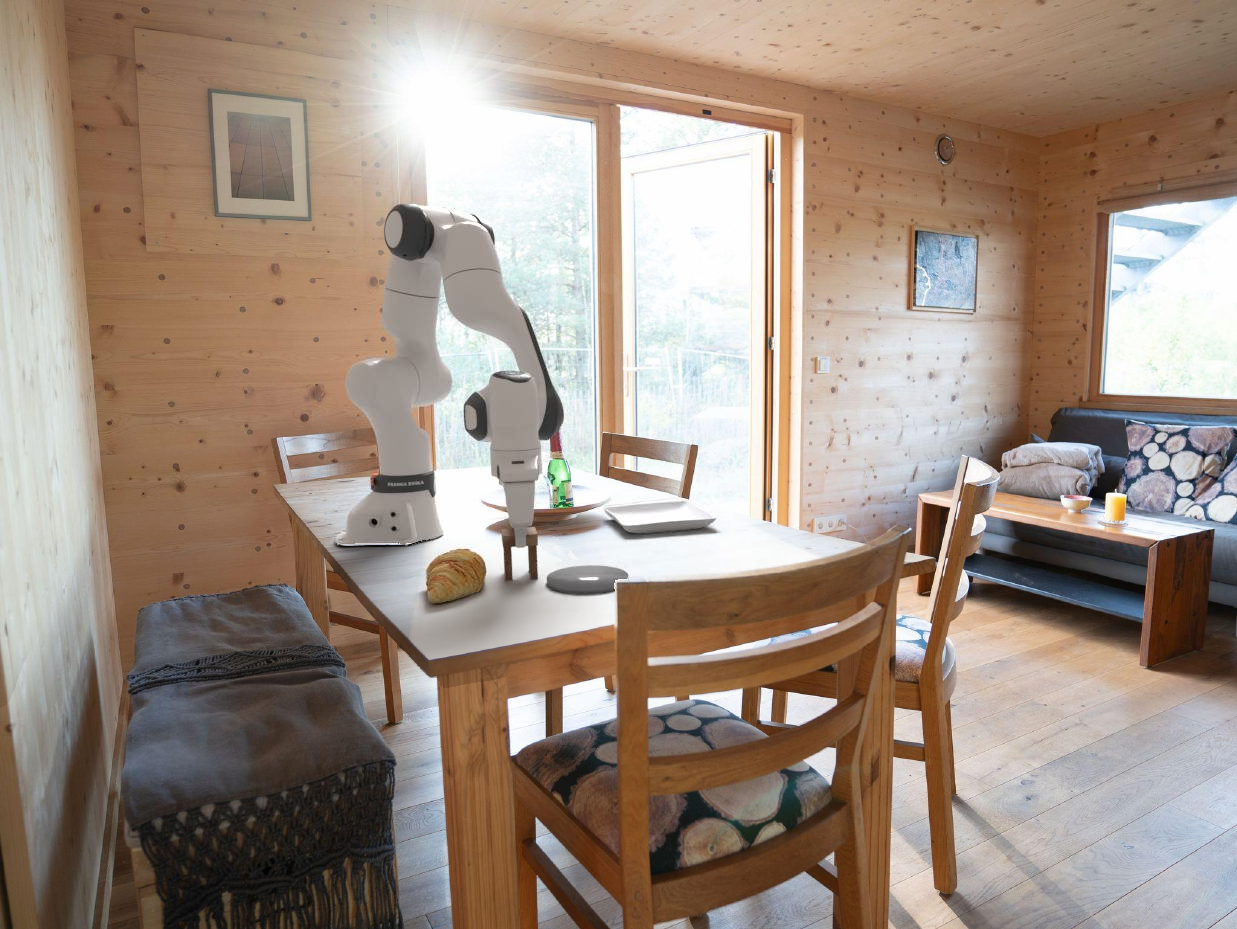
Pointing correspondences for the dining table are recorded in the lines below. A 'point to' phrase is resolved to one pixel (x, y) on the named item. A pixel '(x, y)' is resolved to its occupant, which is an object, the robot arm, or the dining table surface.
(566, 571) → the grey flat disc
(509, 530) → the stool
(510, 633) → the dining table surface
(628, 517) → the salad plate
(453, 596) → the croissant
